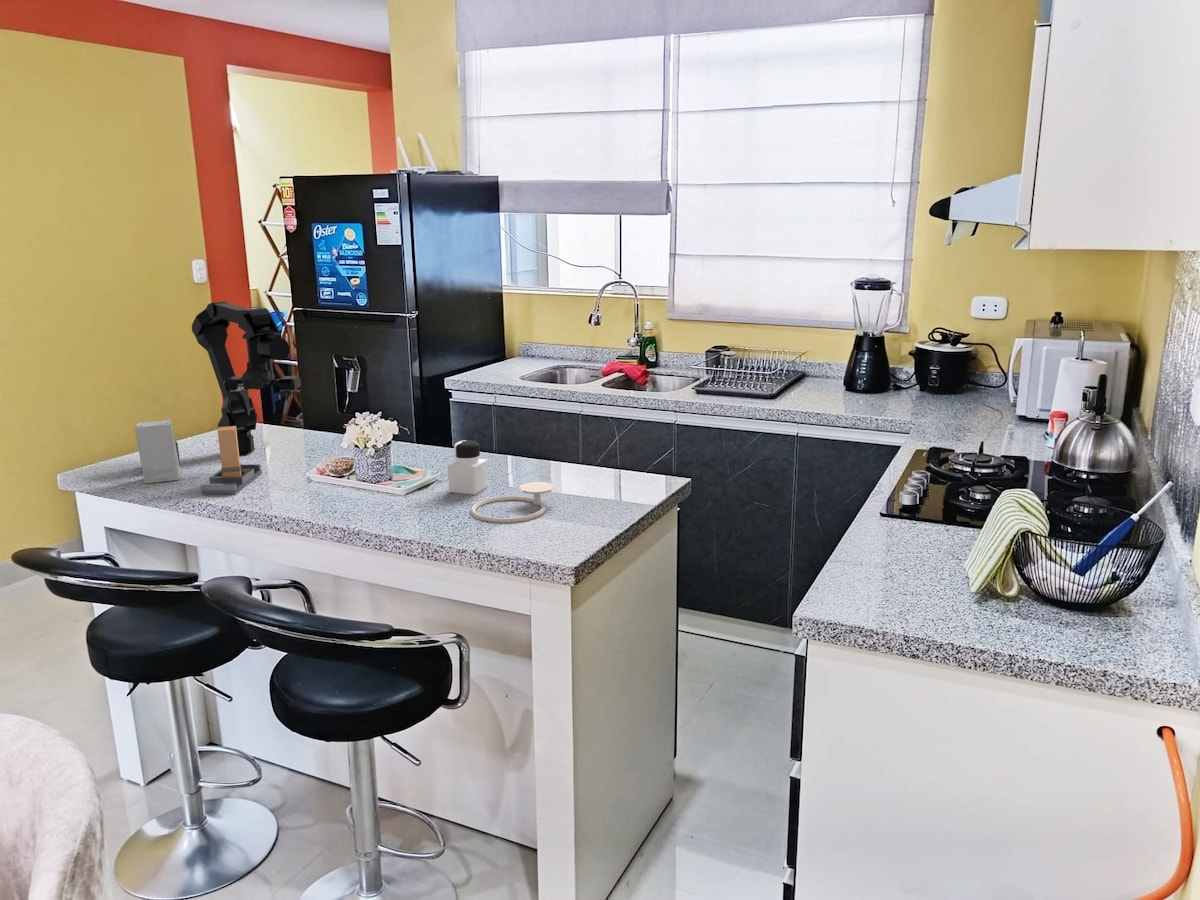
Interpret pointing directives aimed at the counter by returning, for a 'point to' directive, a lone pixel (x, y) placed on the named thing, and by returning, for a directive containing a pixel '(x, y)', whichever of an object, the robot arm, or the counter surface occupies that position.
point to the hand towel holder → (529, 488)
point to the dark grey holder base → (231, 481)
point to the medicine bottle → (467, 469)
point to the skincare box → (157, 451)
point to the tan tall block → (229, 451)
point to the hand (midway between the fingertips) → (265, 415)
